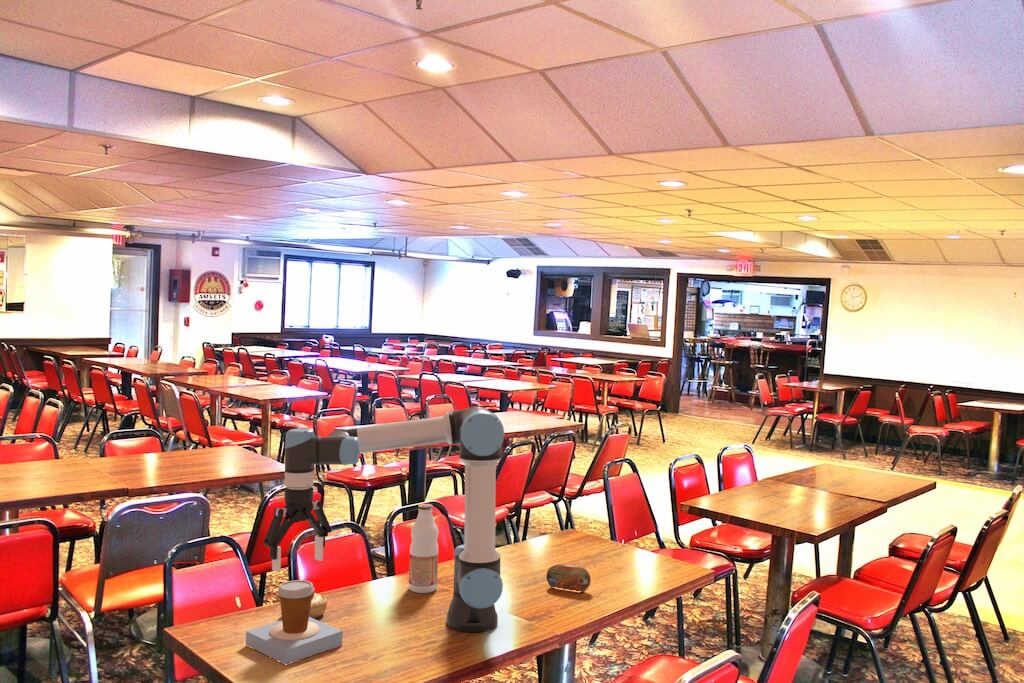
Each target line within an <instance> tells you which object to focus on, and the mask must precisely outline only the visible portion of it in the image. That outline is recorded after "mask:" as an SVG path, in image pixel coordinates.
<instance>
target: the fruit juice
mask: <svg viewBox="0 0 1024 683" xmlns="http://www.w3.org/2000/svg"><path fill="white" fill-rule="evenodd" d="M433 509H434V506H433V504H431V503H419V504H418V505H417V510H418V514H417V517H416V520H415V522H414V523H413V524H412V527H411V530H410V536H411V543H410V546H409V566H408V567H409V568H408V573H409V574H408V589H409V591H410V592H412V593H416V594H429V593H430V594H431V593H433V592H435V591H436V590H437V588H438V570H439V543H438V537H439V528H438V525H437V523H436V522H435V519H434V516H433Z"/></svg>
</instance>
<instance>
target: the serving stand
mask: <svg viewBox="0 0 1024 683" xmlns="http://www.w3.org/2000/svg"><path fill="white" fill-rule="evenodd" d="M245 632H246V633H245V646H246V645H248V646H250V647H252V648H254V649H255V650H257V651H259V652H261V653H263V654H265V655H267V656H269V657H271V658H273V659H275V660H278V661H280V662H282V663H284V664H289V663H291V662H294V661H297V660H300V659H303V658H306V657H309V656H311V657H313V656H312V655H314V656H316V655H315V654H317V655H319V654H318V653H320V654H322V653H325V652H328V651H331V650H333V648H334V649H336V648H339V647H342V646H343V632H344V631H343V630H342V629H339V628H337V627H335V626H332V625H330V624H327V623H326V622H322V621H320V620H318V619H317V618H316V619H313V618H311V617H309V620H308V626H307V630H306V631H304V632H301V633H295V634H291V633H286V632H284V631H283V623H282V619H281V620H278V621H275V622H271V623H268V624H265V625H262V626H259V627H255V628H252V629H249V630H245ZM341 645H342V646H341ZM338 646H339V647H338ZM330 649H331V650H330ZM255 650H254V651H255ZM327 650H328V651H327ZM257 651H256V652H257ZM324 651H325V652H324ZM259 652H258V653H259ZM321 652H322V653H321ZM261 653H260V654H261ZM263 654H262V655H263ZM265 655H264V656H265ZM267 656H266V657H267ZM269 657H268V658H269ZM271 658H270V659H271ZM309 658H310V657H309ZM273 659H272V660H273ZM306 659H307V658H306ZM275 660H274V661H275ZM303 660H304V659H303ZM300 661H301V660H300ZM297 662H298V661H297ZM289 665H290V664H289Z"/></svg>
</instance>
